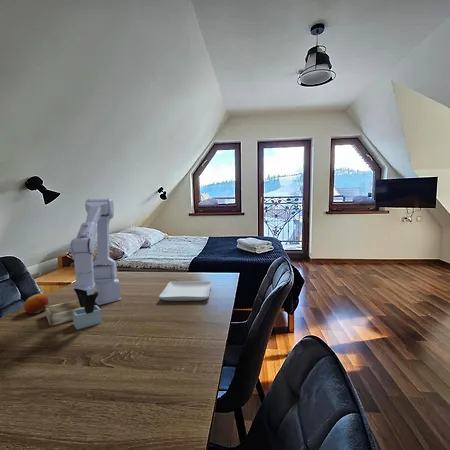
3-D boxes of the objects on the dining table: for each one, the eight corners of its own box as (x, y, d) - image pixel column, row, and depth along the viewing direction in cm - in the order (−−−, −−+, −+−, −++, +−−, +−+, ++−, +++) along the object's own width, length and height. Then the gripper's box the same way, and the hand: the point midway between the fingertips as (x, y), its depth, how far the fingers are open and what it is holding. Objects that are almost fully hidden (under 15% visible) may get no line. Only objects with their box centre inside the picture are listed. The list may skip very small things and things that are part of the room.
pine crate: (86, 306, 112) (85, 296, 112) (93, 314, 104) (92, 304, 104) (45, 315, 104) (45, 305, 103) (50, 325, 95) (49, 314, 95)
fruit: (40, 313, 103) (30, 294, 103) (26, 322, 105) (16, 304, 105) (57, 304, 111) (48, 287, 111) (44, 313, 112) (34, 296, 113)
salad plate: (208, 303, 115) (208, 295, 114) (158, 304, 115) (158, 296, 115) (212, 287, 136) (212, 280, 135) (169, 288, 136) (169, 281, 136)
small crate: (97, 318, 101) (96, 305, 101) (101, 323, 97) (101, 309, 97) (73, 324, 96) (72, 310, 96) (76, 330, 92) (75, 315, 92)
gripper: (67, 269, 98) (69, 306, 99) (76, 278, 87) (78, 319, 88) (88, 266, 103) (90, 301, 104) (99, 274, 91) (101, 313, 93)
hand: (86, 309), depth 96 cm, fingers open, 7 cm apart
